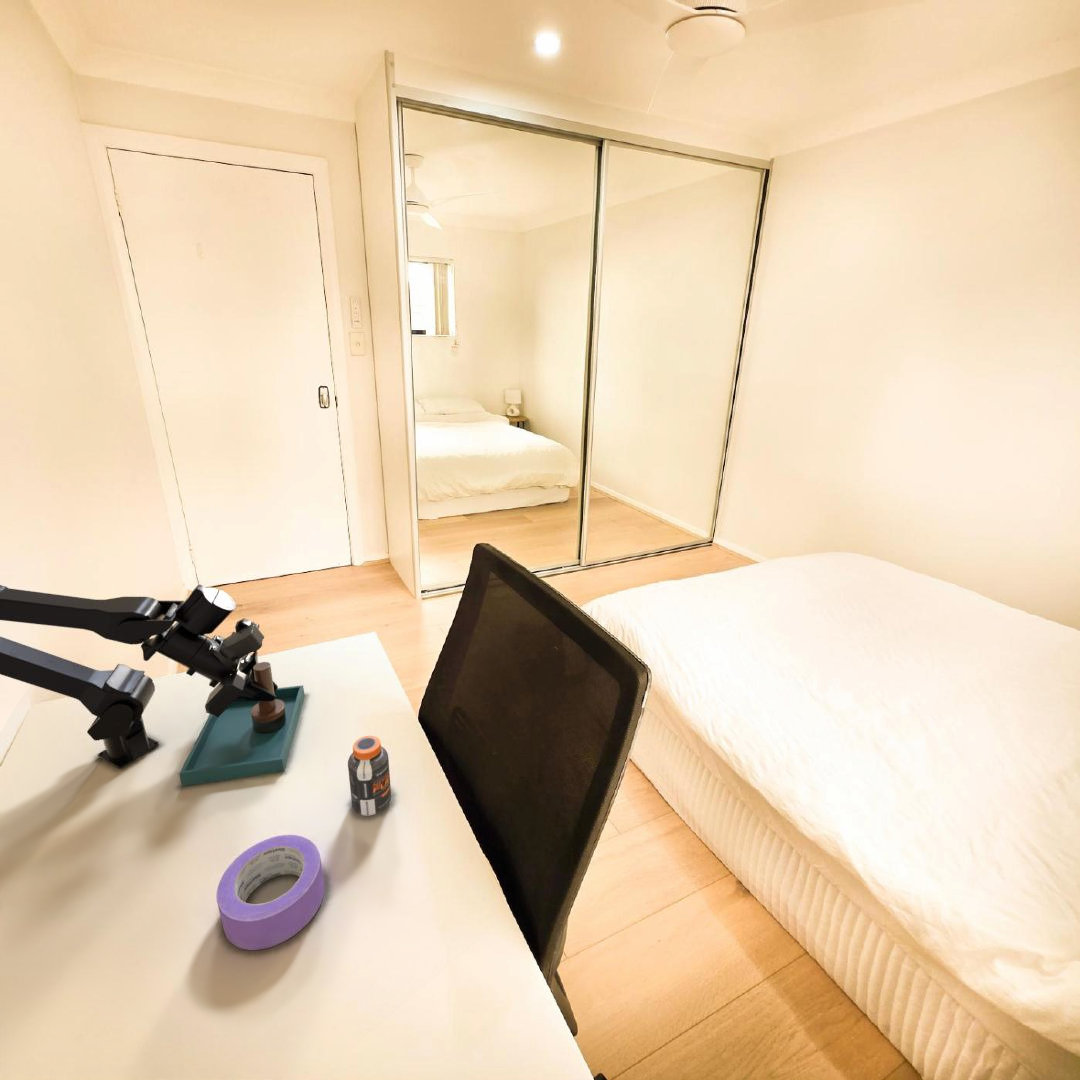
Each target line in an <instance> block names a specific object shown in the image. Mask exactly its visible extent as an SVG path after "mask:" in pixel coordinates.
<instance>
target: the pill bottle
mask: <svg viewBox="0 0 1080 1080" xmlns="http://www.w3.org/2000/svg"><path fill="white" fill-rule="evenodd" d="M347 769H348V770H347V771H348V781H349V790H350V798H351V806H352V809H353V811H354V812H355V813H356V814H358V815H360V816H367V817H368V816H374V815H377V814H379V813H382V812H383V811H384V810H385V809H387V808H388V806H389V805H390V803H391V801H392V790H391V789H392V788H391V787H392V786H391V774H390V761H389V753H388V751H387V749H386V748H385V747H384V746H382V744H381V739H380V738H379V737H377V736H376V735H364V736H362V737H359V738H358V739H357V740H356V741H355V742H354V743H353V745H352V752H351V754H350V755H349V757H348V760H347Z"/></svg>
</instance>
